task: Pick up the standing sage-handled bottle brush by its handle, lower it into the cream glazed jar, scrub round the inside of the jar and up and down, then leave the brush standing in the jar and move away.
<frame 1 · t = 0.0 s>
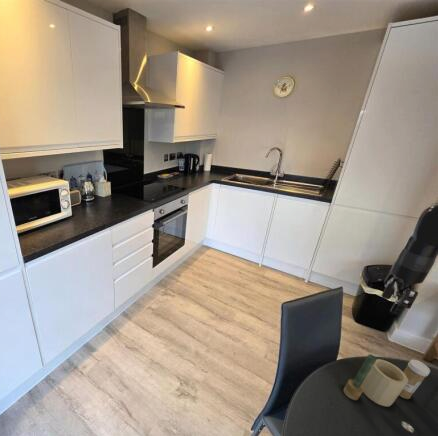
hand: (389, 305, 82), 28 cm above the table, tool pointing down, fingers open, 8 cm apart
sprinkles bottle: (400, 393, 83), on the table
jar: (375, 393, 82), on the table
brush: (350, 393, 81), on the table
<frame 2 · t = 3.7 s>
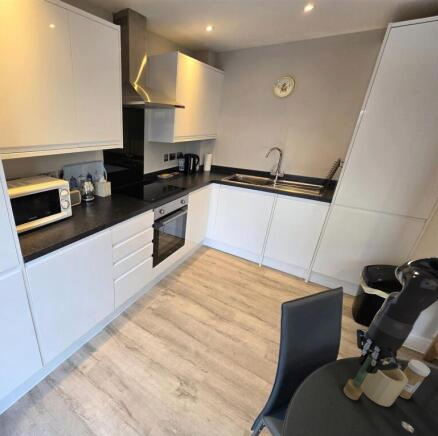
hand: (365, 368, 76), 13 cm above the table, tool pointing down, fingers closed on brush, 2 cm apart
brush: (350, 393, 81), on the table, touching gripper
everything else where it was.
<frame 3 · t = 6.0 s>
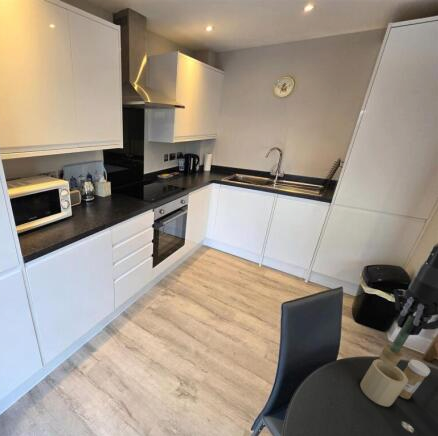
hand: (406, 330, 70), 29 cm above the table, tool pointing down, fingers closed on brush
brush: (387, 360, 75), point 16 cm above the table, touching gripper
everything else where it was.
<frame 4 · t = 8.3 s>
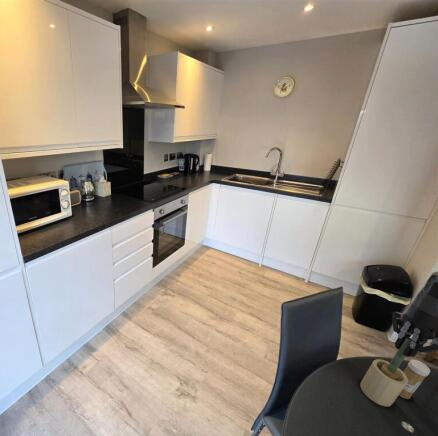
hand: (402, 351, 74), 20 cm above the table, tool pointing down, fingers closed on brush
brush: (384, 379, 79), point 7 cm above the table, touching gripper
everything else where it was.
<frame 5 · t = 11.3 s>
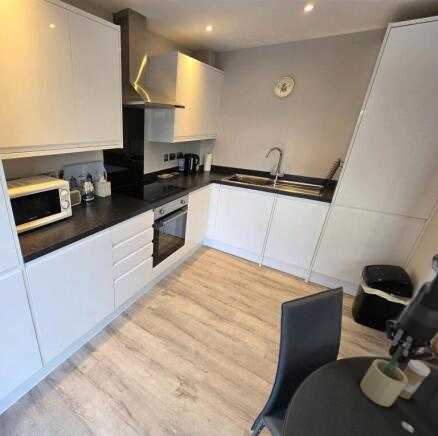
hand: (396, 358, 76), 16 cm above the table, tool pointing down, fingers closed on brush, 2 cm apart
brush: (379, 385, 81), point 3 cm above the table, touching gripper
everything else where it was.
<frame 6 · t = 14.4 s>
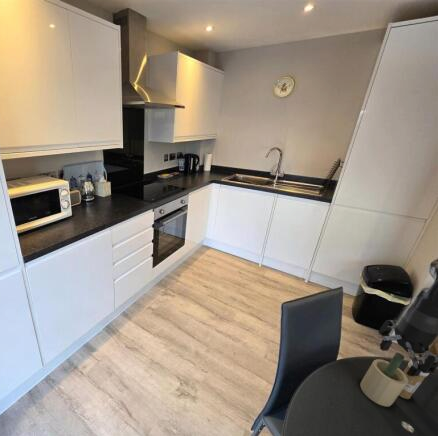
hand: (396, 361, 76), 15 cm above the table, tool pointing down, fingers open, 8 cm apart
brush: (376, 392, 82), point 1 cm above the table, touching jar
everything else where it was.
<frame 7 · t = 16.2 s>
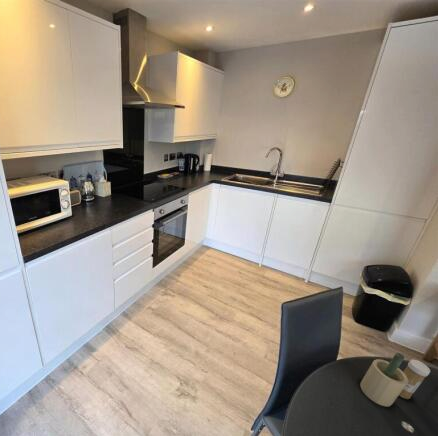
nothing on the table moved.
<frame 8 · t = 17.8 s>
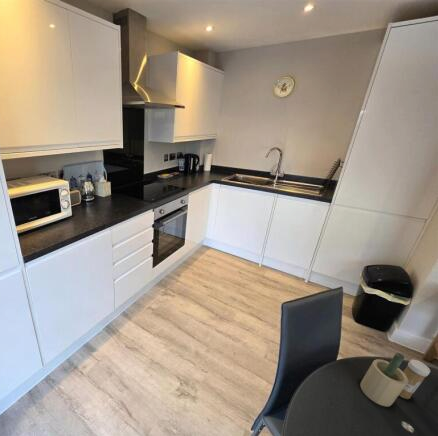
nothing on the table moved.
at the end: brush 0.1 cm off-centre in the jar, point 0.6 cm above the jar's base; the gripper is holding nothing; brush tilted 0° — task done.
